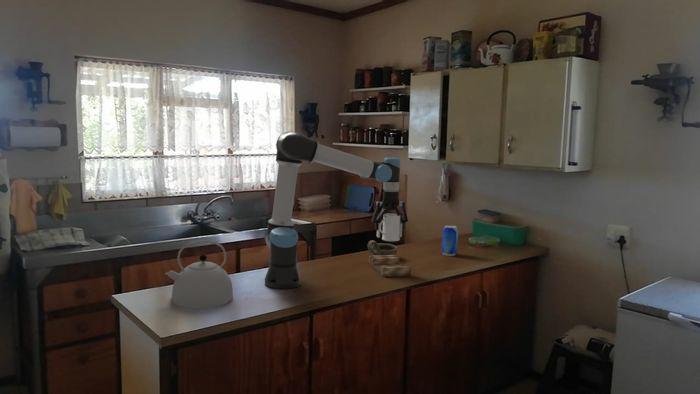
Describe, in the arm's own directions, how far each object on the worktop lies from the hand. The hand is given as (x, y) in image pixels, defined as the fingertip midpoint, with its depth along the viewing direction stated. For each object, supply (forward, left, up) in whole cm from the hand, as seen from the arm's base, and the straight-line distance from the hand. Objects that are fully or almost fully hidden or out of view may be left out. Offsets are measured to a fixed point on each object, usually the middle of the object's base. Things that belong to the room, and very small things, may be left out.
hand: (389, 236), depth 243 cm
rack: (+2, +2, -17) cm, 17 cm away
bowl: (+5, +24, -17) cm, 30 cm away
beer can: (+46, +28, -17) cm, 56 cm away
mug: (0, 0, -2) cm, 2 cm away
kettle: (-86, -29, -17) cm, 92 cm away
